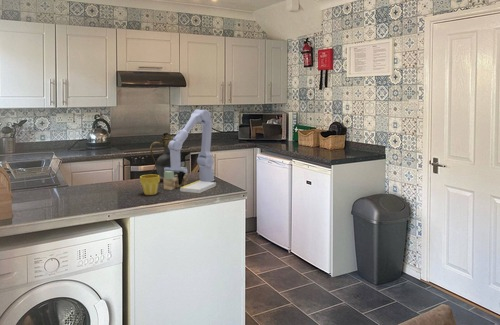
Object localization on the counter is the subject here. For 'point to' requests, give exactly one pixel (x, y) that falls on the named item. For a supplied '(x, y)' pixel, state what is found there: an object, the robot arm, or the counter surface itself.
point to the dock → (197, 187)
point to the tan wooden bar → (175, 182)
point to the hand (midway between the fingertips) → (176, 183)
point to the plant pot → (150, 183)
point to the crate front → (168, 174)
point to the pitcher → (165, 158)
